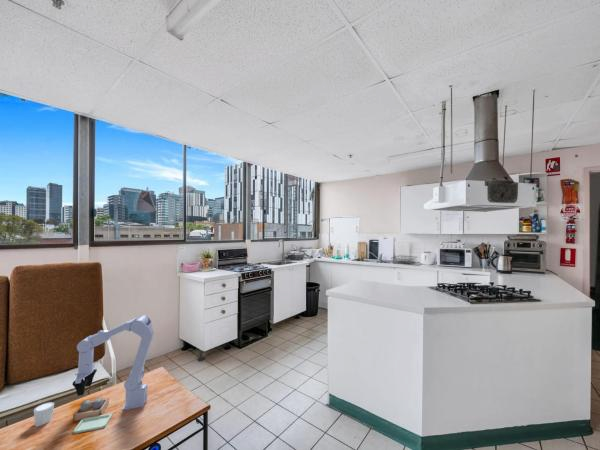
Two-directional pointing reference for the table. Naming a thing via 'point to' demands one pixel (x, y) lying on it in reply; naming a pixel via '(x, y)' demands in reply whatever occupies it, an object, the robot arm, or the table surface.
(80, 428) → the parts tray
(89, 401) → the pebble
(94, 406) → the pebble
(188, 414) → the table surface
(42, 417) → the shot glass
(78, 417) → the dish
